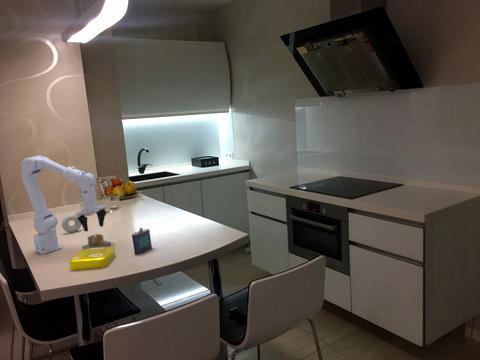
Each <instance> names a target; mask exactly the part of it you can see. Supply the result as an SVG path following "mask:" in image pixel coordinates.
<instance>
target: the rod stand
mask: <svg viewBox="0 0 480 360" xmlns="http://www.w3.org/2000/svg"><path fill="white" fill-rule="evenodd" d="M93 235H94V237H97V236H96V235H95V234H93ZM111 243H112V242H110V241H107V240H104V244H102V245H99V246H96V247H93V246H90V245H89V244H88V243H87V244H86V245H85V244H84V245H82V246H81V249H88V248H98V247H99V248H100V247H111V246H112V244H111Z"/></svg>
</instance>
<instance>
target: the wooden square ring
mask: <svg viewBox="0 0 480 360" xmlns="http://www.w3.org/2000/svg"><path fill="white" fill-rule="evenodd" d="M94 235H96V236H97V237H94ZM86 238H87V244H89V245H90V246H93V247H96V246H99V245H102V244H104V241H105V240H104V235H102V234H99V233H95V234H93V235H89V236H87V237H86Z"/></svg>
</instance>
